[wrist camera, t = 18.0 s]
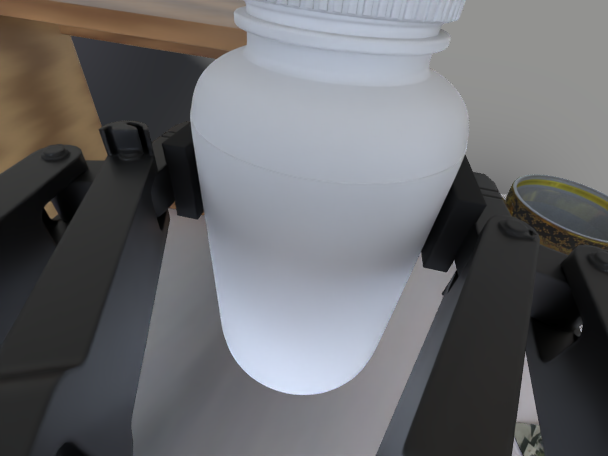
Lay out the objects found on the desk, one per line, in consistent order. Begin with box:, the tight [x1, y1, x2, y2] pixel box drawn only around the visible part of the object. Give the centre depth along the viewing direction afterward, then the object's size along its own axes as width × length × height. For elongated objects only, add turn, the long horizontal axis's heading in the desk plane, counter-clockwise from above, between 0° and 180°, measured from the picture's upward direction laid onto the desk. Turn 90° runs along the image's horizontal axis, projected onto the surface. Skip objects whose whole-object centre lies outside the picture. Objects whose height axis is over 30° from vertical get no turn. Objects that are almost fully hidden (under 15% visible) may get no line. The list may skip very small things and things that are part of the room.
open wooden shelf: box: [0, 0, 247, 219], centre depth 26 cm, size 11×24×21 cm, turn 78°
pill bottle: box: [190, 0, 469, 395], centre depth 11 cm, size 8×8×15 cm
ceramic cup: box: [502, 175, 608, 255], centre depth 30 cm, size 13×10×10 cm
